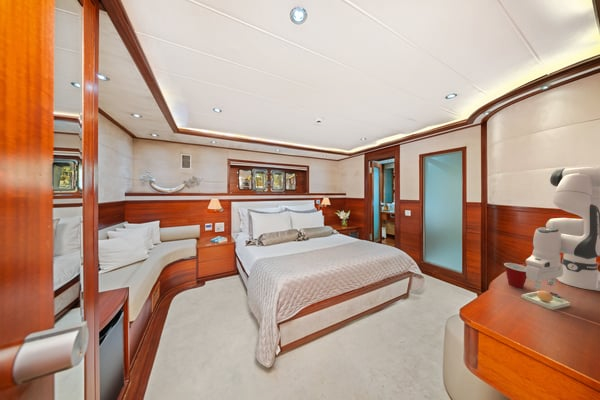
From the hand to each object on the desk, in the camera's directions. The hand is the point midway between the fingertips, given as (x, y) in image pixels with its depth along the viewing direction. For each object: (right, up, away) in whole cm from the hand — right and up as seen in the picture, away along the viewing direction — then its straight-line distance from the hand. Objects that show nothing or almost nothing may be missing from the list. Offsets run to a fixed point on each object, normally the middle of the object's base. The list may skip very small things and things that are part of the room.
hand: (544, 286), depth 100 cm
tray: (0, -8, 0) cm, 8 cm away
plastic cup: (+3, -7, +16) cm, 18 cm away
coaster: (+10, -7, +5) cm, 13 cm away
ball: (0, -7, 0) cm, 7 cm away
